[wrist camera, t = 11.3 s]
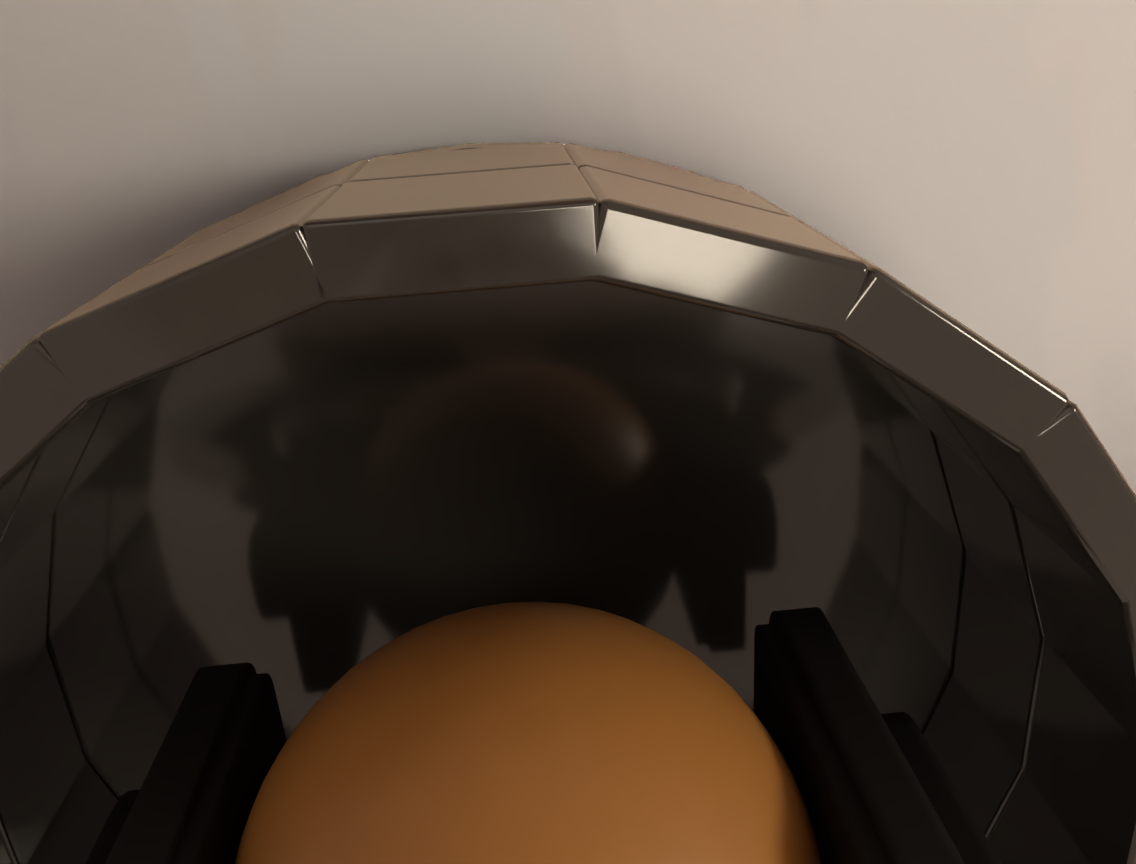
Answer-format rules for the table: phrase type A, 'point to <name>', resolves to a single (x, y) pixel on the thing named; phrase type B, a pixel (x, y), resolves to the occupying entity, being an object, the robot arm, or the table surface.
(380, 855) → the orange ball
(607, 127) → the table surface
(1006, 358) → the bowl
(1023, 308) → the table surface
